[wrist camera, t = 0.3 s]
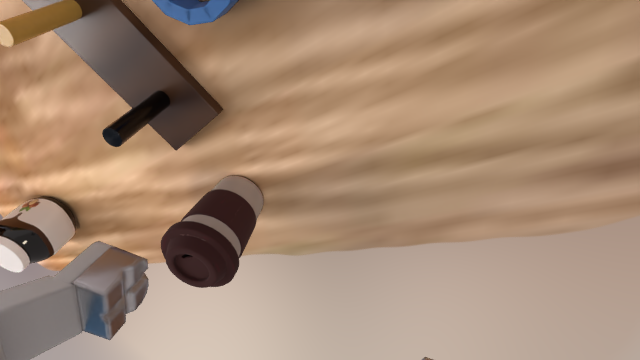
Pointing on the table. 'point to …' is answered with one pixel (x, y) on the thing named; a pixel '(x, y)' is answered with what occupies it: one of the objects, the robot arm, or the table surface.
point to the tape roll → (195, 9)
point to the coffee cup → (213, 234)
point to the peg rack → (122, 65)
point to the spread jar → (34, 232)
